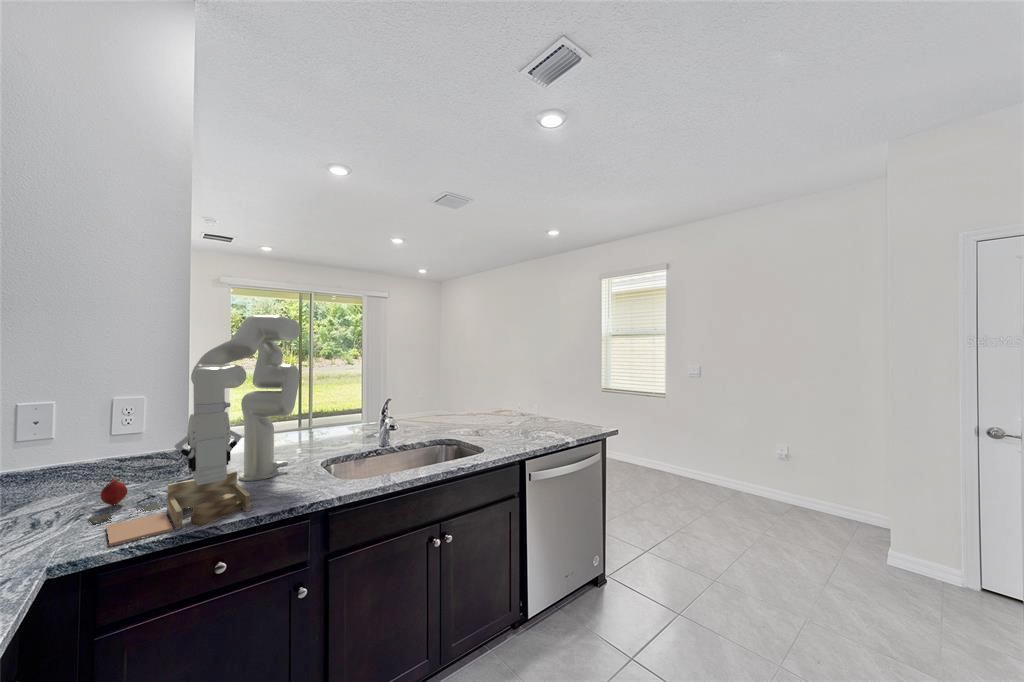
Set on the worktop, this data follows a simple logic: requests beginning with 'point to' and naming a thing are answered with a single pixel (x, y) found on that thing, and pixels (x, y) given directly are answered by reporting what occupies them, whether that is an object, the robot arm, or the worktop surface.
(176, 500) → the light wood blocky piece
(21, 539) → the worktop surface
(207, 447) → the supplement box
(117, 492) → the onion
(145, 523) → the terracotta tile
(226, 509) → the brown wooden rectangular block
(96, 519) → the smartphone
